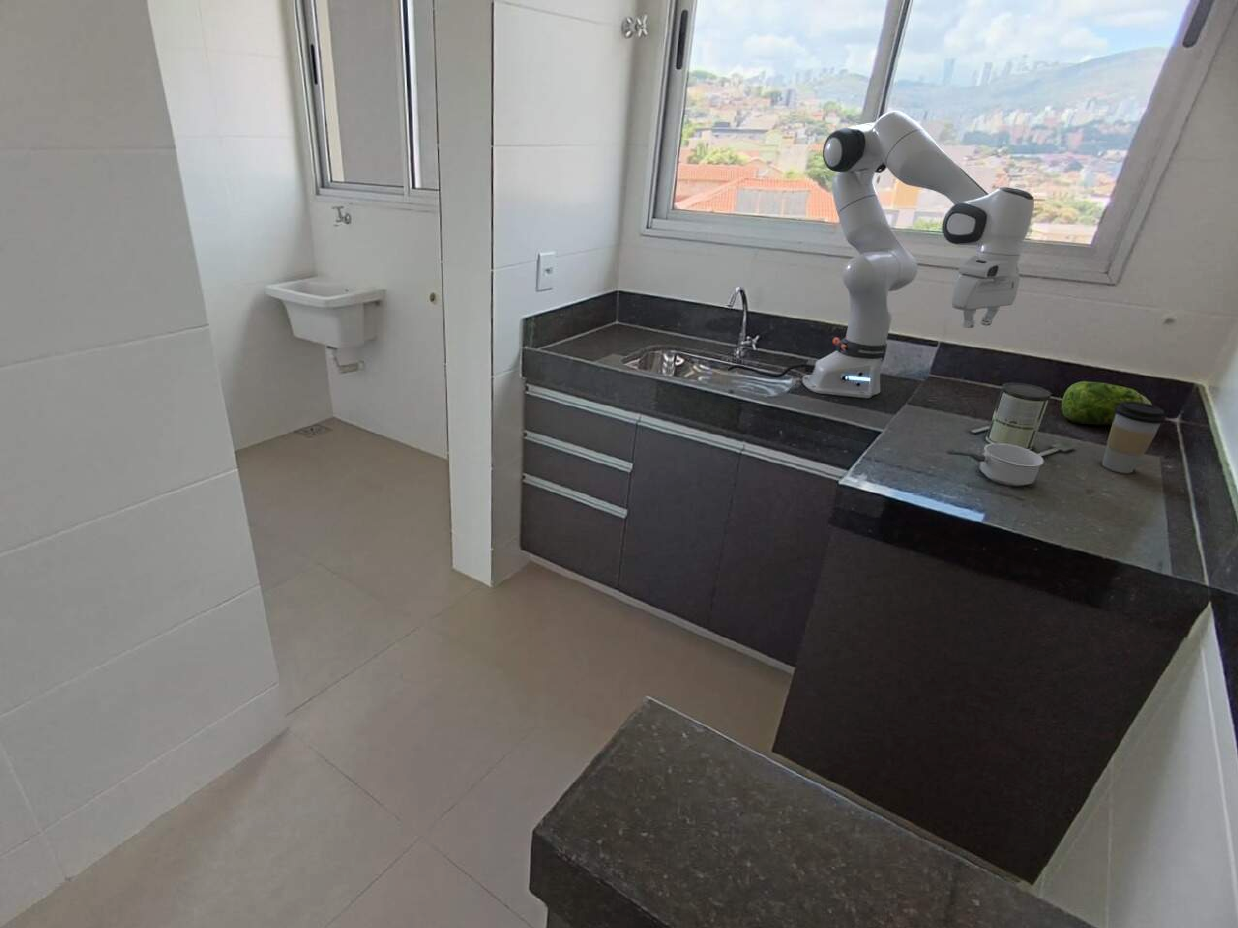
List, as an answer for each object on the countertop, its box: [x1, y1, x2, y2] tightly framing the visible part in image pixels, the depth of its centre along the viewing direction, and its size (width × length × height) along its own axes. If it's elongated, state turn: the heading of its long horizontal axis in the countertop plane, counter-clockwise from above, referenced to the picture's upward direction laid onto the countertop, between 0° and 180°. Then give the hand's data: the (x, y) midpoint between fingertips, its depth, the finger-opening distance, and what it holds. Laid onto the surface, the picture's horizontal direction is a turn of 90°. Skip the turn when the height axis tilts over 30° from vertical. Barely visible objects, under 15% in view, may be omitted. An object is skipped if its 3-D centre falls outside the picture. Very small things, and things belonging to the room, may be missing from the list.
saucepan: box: [945, 443, 1044, 487], centre depth 143 cm, size 12×20×6 cm, turn 89°
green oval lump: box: [1061, 380, 1152, 426], centre depth 175 cm, size 12×21×11 cm, turn 84°
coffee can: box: [985, 382, 1052, 451], centre depth 159 cm, size 10×10×14 cm
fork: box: [969, 425, 990, 435], centre depth 170 cm, size 15×2×1 cm, turn 122°
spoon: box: [1037, 442, 1075, 458], centre depth 158 cm, size 14×3×1 cm, turn 122°
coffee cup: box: [1102, 401, 1167, 474], centre depth 149 cm, size 9×9×15 cm
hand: (976, 326), depth 155 cm, fingers open, 6 cm apart
